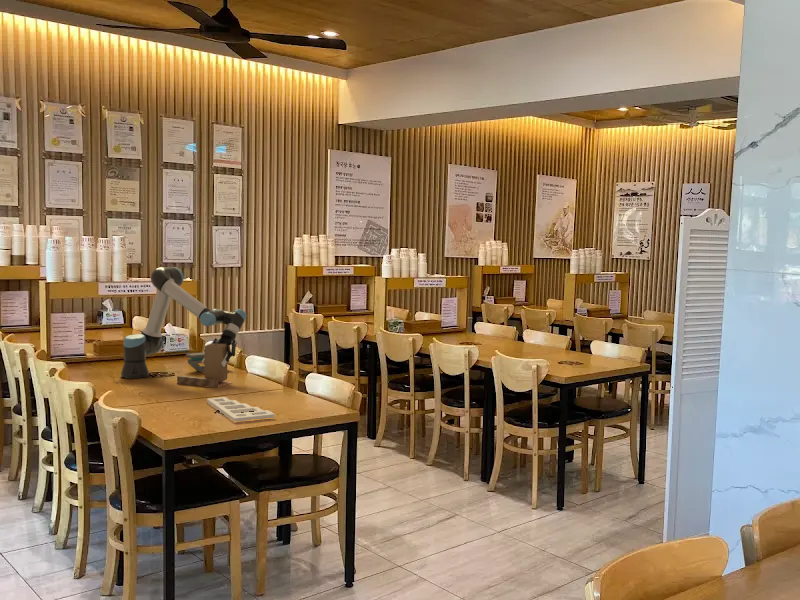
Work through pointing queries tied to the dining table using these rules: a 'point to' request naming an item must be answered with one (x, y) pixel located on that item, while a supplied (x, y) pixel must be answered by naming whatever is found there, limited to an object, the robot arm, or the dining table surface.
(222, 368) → the wooden block
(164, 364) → the dining table surface
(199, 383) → the walnut straightedge
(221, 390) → the dining table surface
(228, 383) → the terracotta end mark
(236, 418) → the holder
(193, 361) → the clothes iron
